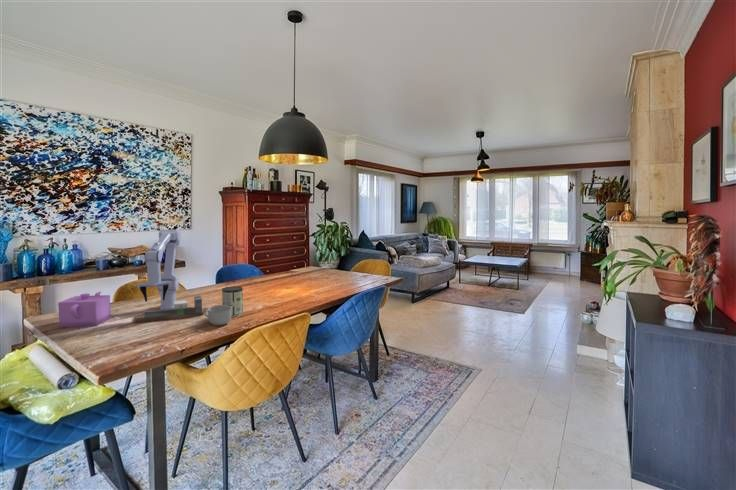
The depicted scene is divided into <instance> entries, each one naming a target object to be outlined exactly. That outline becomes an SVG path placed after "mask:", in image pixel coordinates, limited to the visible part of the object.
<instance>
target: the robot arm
mask: <svg viewBox="0 0 736 490" xmlns="http://www.w3.org/2000/svg"><path fill="white" fill-rule="evenodd" d="M181 234H182V233H181V231H180V230H179V229H164V228H162V229H160V230H159V231H158V238H159V239H158V241H157V242H156V241H155V242H154V243H153V245H152V246H151V248H150V250H148V251H145V253H144V261H145V266H146V267H147V270H146V272H147V273H146V274H147V282H142V283H141V282H138V283H137V285H136V288H138V289H139V290H140V292H141V294H142V295H143V297H144V302H145V303H146V302H148V297H147V296H148V295H147V288H151V287H154V288H155V287H156V290H157V291H158V293H160V306H159V310H166V309H174V301H177V299H176V292H177V291H178V289H179V288H180V287H179V285H180V283H179V278H178V277H177V276H176V275H175V266H176V265H175V264H176V255H177V254H176V253H177V247H178V246H179V245H181V244H180V243H181V239H182V238H181V237H182V236H181ZM165 250H166V251H165ZM164 251H165V261H164V269H163V274H162V275H161V273H162V272H161V262H162V259H163V255H164V254H163V253H164Z"/></svg>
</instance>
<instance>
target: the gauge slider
mask: <svg viewBox="0 0 736 490" xmlns="http://www.w3.org/2000/svg"><path fill="white" fill-rule="evenodd" d="M187 307H188V300H176V301H174V308H173V309H182V308H187Z"/></svg>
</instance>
